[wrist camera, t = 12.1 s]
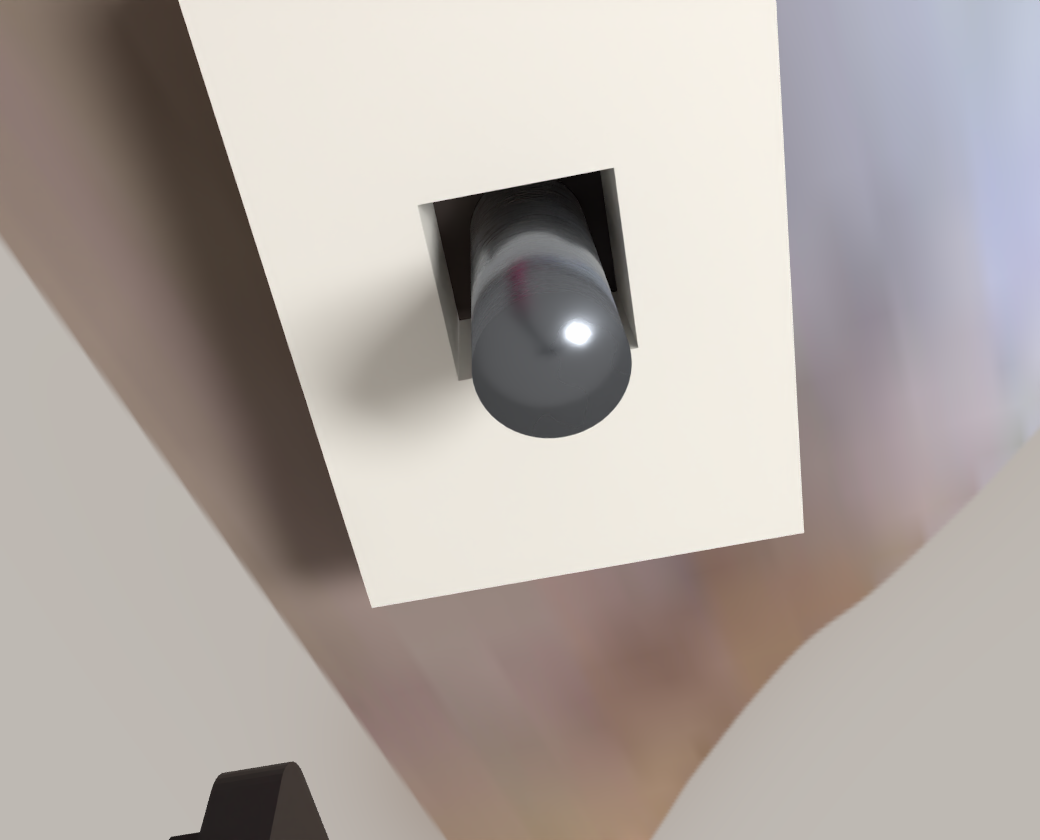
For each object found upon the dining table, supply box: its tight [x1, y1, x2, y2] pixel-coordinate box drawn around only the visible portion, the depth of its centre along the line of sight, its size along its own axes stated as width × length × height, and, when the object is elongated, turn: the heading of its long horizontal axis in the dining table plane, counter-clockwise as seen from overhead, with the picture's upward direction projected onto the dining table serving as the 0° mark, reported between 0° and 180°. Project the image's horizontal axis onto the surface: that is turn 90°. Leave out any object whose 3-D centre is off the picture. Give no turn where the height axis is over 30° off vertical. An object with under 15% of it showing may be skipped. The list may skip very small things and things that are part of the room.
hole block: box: [178, 0, 804, 608], centre depth 29 cm, size 20×14×4 cm
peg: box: [470, 179, 632, 438], centre depth 27 cm, size 4×4×10 cm
